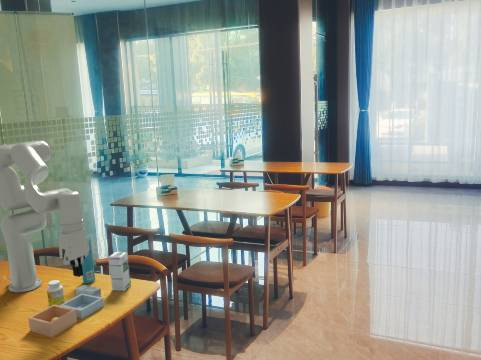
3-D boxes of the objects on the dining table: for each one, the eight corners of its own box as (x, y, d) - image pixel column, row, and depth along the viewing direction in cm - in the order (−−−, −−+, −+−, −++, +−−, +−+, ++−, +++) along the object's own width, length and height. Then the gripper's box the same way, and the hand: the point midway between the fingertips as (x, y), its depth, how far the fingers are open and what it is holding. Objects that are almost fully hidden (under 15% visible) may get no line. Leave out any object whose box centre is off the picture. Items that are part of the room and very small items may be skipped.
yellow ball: (49, 327, 156) (48, 319, 155) (56, 323, 159) (55, 315, 158) (55, 329, 155) (54, 320, 154) (62, 324, 157) (61, 316, 157)
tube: (90, 277, 200) (85, 235, 196) (99, 278, 198) (94, 236, 194) (78, 284, 193) (73, 240, 190) (87, 285, 191) (82, 241, 188)
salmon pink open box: (30, 333, 154) (28, 317, 153) (55, 318, 164) (53, 304, 163) (52, 339, 150) (50, 323, 149) (77, 324, 159) (75, 309, 158)
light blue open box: (61, 315, 166) (59, 305, 165) (83, 303, 175) (81, 293, 174) (82, 321, 161) (81, 310, 160) (104, 308, 170) (103, 297, 169)
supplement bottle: (49, 306, 174) (45, 280, 172) (64, 303, 176) (61, 277, 174) (49, 312, 169) (45, 286, 167) (65, 309, 171) (62, 283, 169)
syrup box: (125, 291, 184) (121, 256, 181) (111, 290, 185) (107, 256, 183) (131, 285, 190) (128, 251, 187) (118, 284, 191) (114, 251, 188)
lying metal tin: (76, 298, 180) (75, 289, 179) (83, 294, 184) (82, 285, 183) (94, 302, 176) (93, 292, 175) (101, 297, 180) (100, 288, 179)
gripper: (80, 220, 170) (86, 266, 174) (47, 231, 157) (54, 282, 160) (95, 221, 167) (101, 269, 170) (63, 233, 154) (69, 285, 157)
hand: (78, 275), depth 165 cm, fingers closed
